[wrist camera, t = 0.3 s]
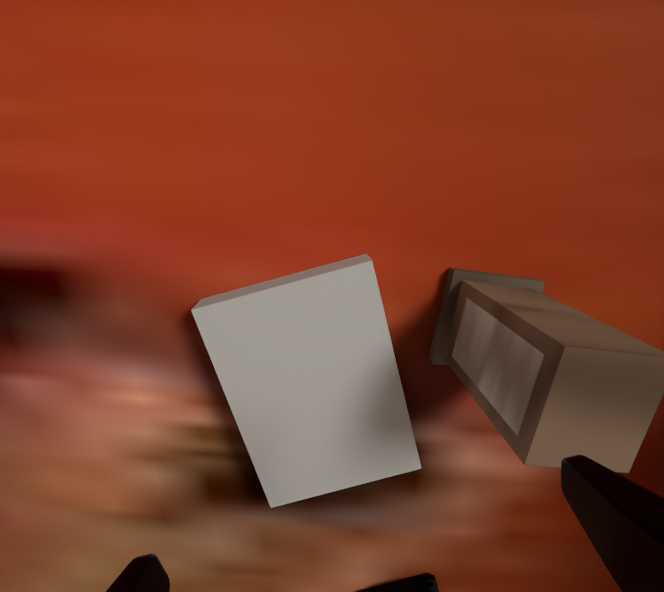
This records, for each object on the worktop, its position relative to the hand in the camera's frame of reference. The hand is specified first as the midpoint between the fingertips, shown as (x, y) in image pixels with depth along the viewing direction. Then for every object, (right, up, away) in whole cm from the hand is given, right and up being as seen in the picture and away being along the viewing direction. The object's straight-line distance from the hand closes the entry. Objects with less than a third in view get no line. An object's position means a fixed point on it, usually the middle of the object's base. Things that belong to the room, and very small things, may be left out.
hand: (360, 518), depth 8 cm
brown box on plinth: (+9, +3, +15) cm, 18 cm away
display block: (-2, 0, +16) cm, 16 cm away
